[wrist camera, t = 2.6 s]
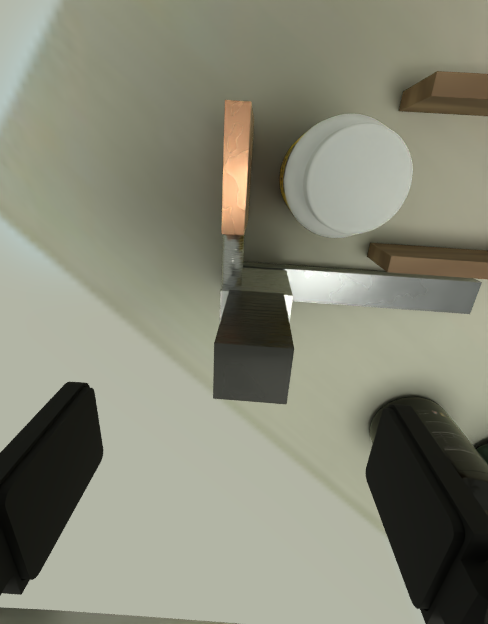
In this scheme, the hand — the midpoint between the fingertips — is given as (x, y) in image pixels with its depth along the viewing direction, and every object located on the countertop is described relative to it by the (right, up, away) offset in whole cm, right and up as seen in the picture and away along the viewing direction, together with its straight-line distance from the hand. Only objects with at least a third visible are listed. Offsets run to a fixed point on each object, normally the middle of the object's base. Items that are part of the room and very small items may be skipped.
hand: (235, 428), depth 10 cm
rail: (+8, +6, +13) cm, 17 cm away
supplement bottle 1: (+5, +13, +11) cm, 18 cm away
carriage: (+1, +10, +11) cm, 15 cm away
